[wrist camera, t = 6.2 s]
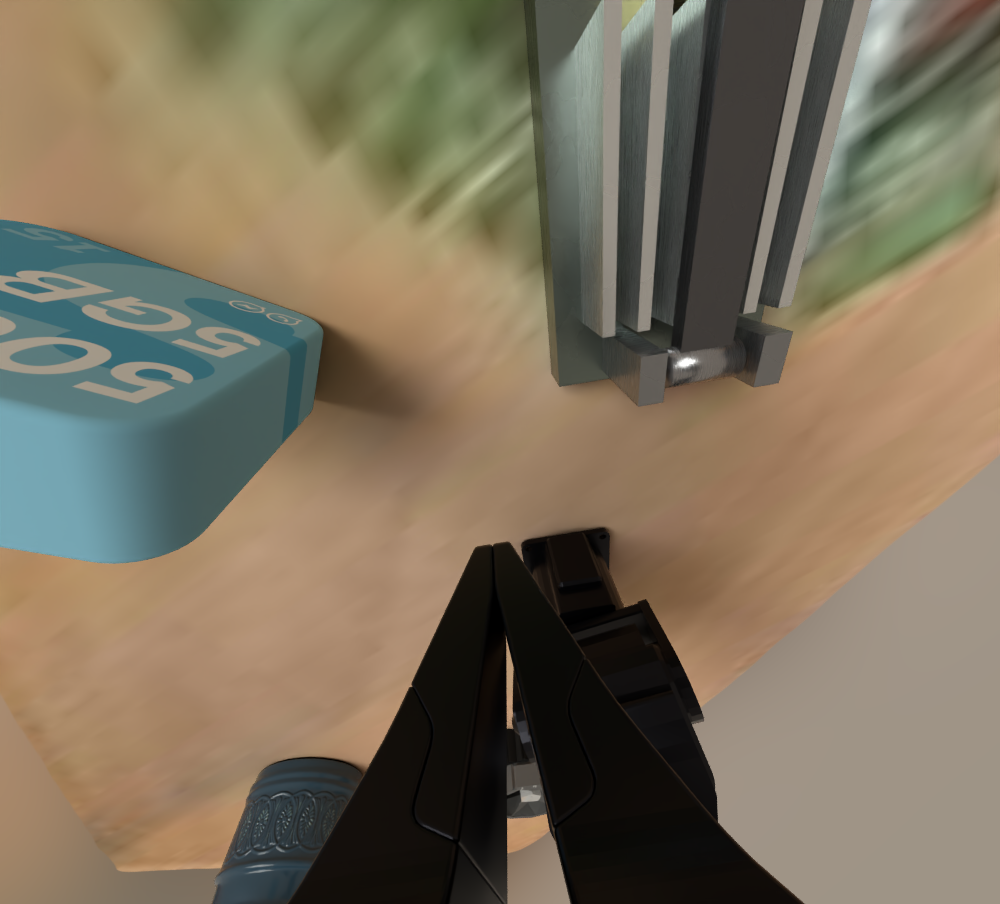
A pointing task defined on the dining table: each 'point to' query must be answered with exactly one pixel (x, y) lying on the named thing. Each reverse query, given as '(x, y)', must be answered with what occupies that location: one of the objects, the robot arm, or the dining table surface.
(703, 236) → the dark grey bar
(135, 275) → the data package
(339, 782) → the canister
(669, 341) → the heatsink
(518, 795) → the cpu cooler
